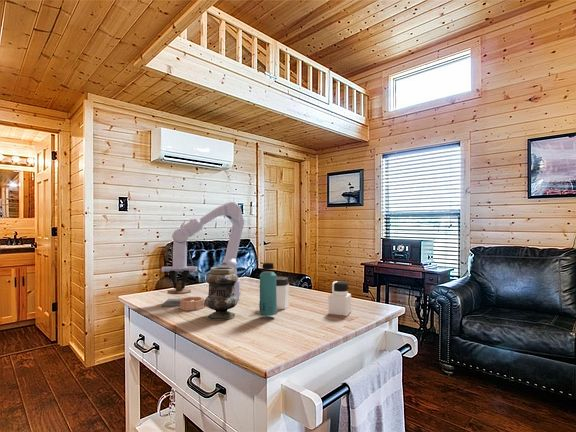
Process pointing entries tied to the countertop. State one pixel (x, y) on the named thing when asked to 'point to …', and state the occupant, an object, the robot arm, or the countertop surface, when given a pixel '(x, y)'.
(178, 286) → the lid
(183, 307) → the bowl
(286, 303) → the jar
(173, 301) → the mat
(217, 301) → the apothecary jar
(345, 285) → the medicine bottle
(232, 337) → the countertop surface
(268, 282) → the beverage bottle
